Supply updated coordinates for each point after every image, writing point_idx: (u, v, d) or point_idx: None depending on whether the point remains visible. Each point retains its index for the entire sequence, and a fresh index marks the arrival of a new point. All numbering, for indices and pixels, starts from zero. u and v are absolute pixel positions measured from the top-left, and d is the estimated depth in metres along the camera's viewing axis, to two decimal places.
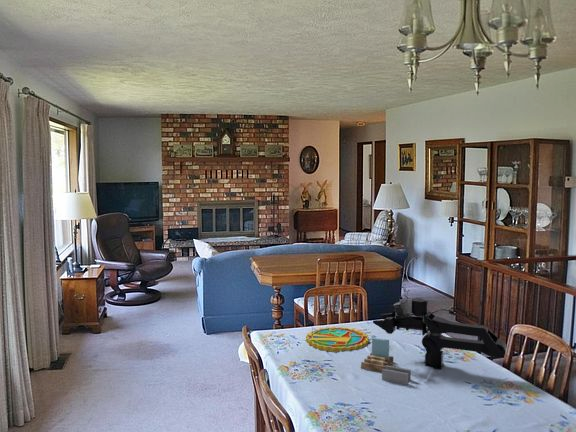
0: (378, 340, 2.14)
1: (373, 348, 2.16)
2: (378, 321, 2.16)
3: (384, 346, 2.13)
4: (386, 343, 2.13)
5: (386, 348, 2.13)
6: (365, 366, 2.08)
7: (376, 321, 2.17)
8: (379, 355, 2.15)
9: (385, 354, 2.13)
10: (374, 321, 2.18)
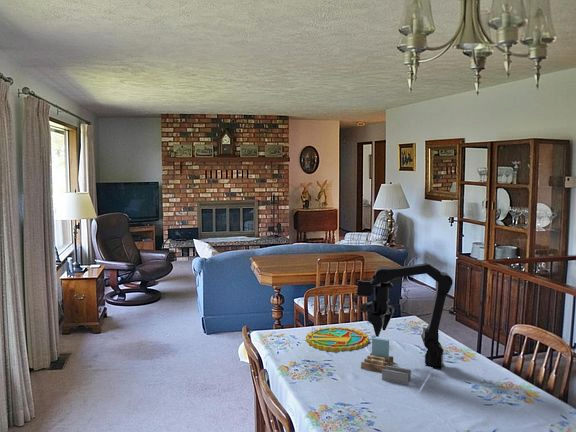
0: (378, 340, 2.14)
1: (373, 348, 2.16)
2: (375, 330, 2.09)
3: (384, 346, 2.13)
4: (386, 343, 2.13)
5: (386, 348, 2.13)
6: (365, 366, 2.08)
7: (375, 332, 2.10)
8: (379, 355, 2.15)
9: (385, 354, 2.13)
10: (376, 335, 2.10)
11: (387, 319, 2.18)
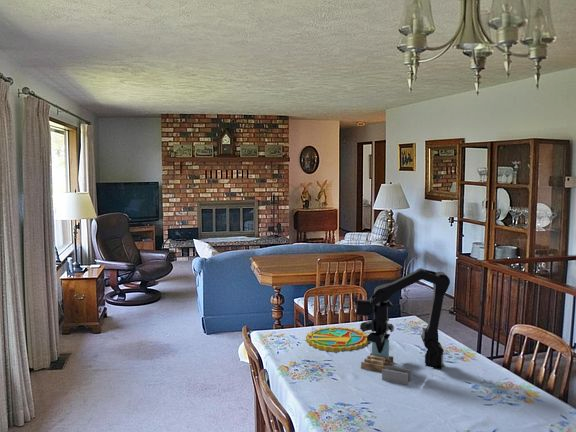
0: None
1: (373, 348, 2.16)
2: (377, 347, 2.13)
3: (384, 346, 2.13)
4: (386, 343, 2.13)
5: (386, 348, 2.13)
6: (365, 366, 2.08)
7: (378, 349, 2.14)
8: (379, 355, 2.15)
9: (385, 354, 2.13)
10: (378, 351, 2.14)
11: None
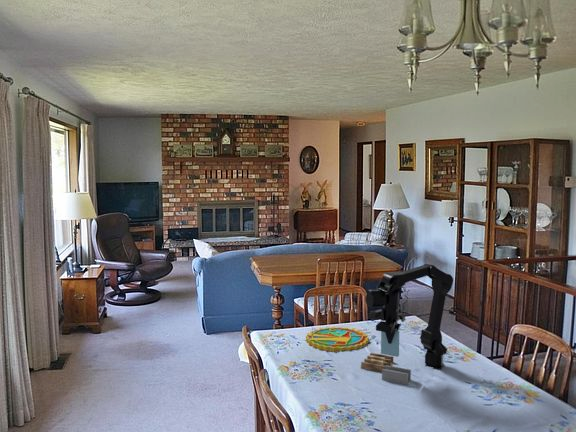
0: None
1: (382, 340, 2.03)
2: (387, 337, 2.01)
3: (394, 337, 2.01)
4: (396, 334, 2.00)
5: (396, 340, 2.00)
6: (365, 366, 2.08)
7: (388, 339, 2.01)
8: (389, 347, 2.02)
9: (395, 346, 2.01)
10: (388, 341, 2.02)
11: None
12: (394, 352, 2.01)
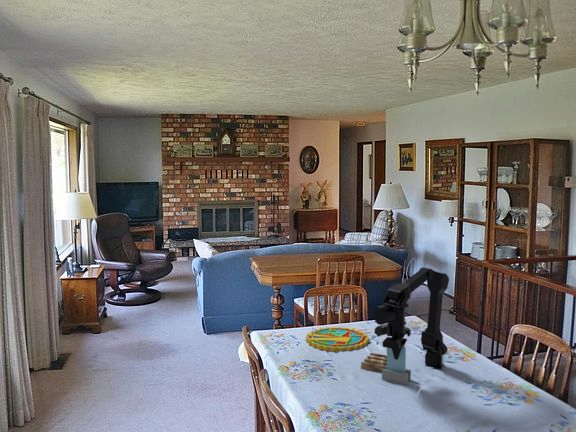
0: None
1: (388, 356, 1.98)
2: (393, 353, 1.95)
3: (401, 354, 1.95)
4: (402, 351, 1.95)
5: (402, 356, 1.95)
6: (365, 366, 2.08)
7: (394, 355, 1.96)
8: (395, 364, 1.97)
9: (401, 363, 1.95)
10: (395, 357, 1.96)
11: None
12: (400, 369, 1.96)
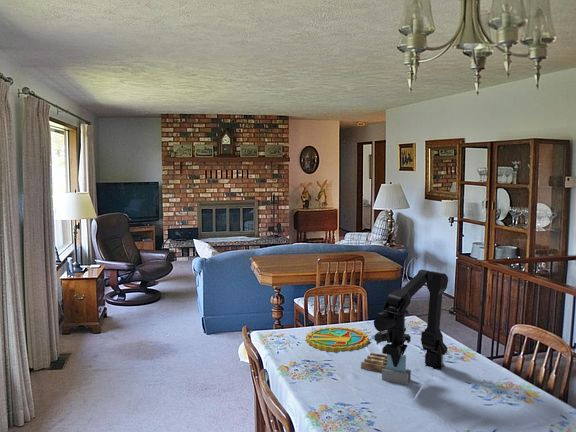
0: None
1: (388, 364, 1.98)
2: (393, 360, 1.95)
3: (401, 362, 1.95)
4: (403, 359, 1.95)
5: (403, 364, 1.95)
6: (365, 366, 2.08)
7: (393, 362, 1.95)
8: None
9: (401, 371, 1.96)
10: (394, 365, 1.95)
11: (401, 352, 1.98)
12: None
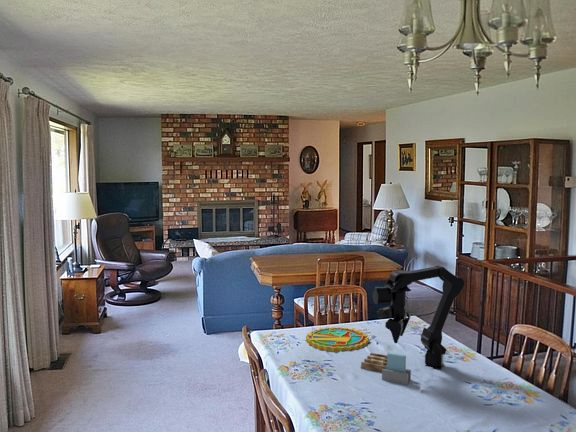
0: (394, 356, 1.97)
1: (388, 364, 1.98)
2: (393, 337, 2.02)
3: (401, 362, 1.95)
4: (403, 359, 1.95)
5: (403, 364, 1.95)
6: (365, 366, 2.08)
7: (394, 339, 2.03)
8: None
9: (401, 371, 1.96)
10: (394, 341, 2.03)
11: (404, 324, 2.11)
12: None
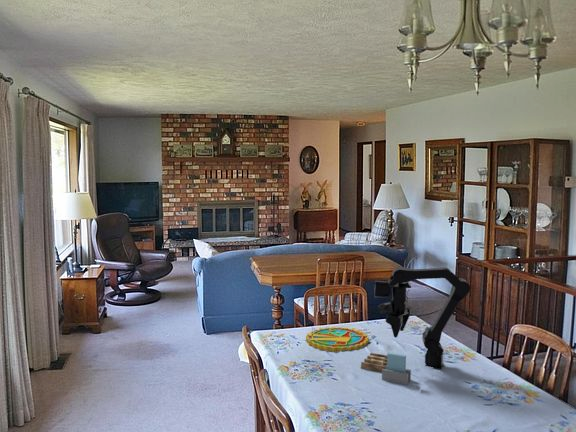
0: (394, 356, 1.97)
1: (388, 364, 1.98)
2: (393, 331, 2.09)
3: (401, 362, 1.95)
4: (403, 359, 1.95)
5: (403, 364, 1.95)
6: (365, 366, 2.08)
7: (394, 333, 2.09)
8: None
9: (401, 371, 1.96)
10: (394, 335, 2.09)
11: (404, 320, 2.17)
12: None
